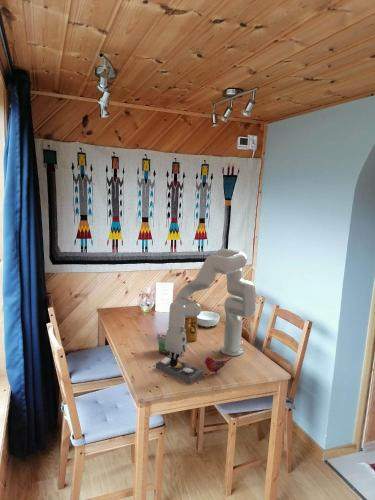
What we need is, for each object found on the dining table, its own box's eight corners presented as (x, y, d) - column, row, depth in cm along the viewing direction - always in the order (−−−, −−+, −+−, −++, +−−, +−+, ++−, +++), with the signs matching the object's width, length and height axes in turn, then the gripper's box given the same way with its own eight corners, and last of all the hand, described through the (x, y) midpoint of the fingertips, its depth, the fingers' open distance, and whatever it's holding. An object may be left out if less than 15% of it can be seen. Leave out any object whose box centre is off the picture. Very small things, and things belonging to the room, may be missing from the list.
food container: (152, 353, 201) (153, 336, 200) (157, 349, 207) (158, 332, 205) (173, 358, 197) (174, 340, 195) (177, 354, 203) (178, 336, 201)
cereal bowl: (188, 325, 247) (189, 315, 246) (202, 319, 261) (203, 309, 260) (210, 331, 238) (211, 321, 237) (223, 325, 252) (224, 315, 251)
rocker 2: (187, 369, 178) (188, 367, 178) (193, 372, 176) (193, 370, 176) (182, 370, 175) (183, 368, 175) (188, 372, 173) (188, 370, 173)
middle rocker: (176, 364, 182) (177, 362, 182) (181, 366, 180) (182, 364, 180) (171, 366, 179) (171, 364, 179) (176, 368, 177) (176, 366, 177)
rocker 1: (166, 358, 186) (166, 357, 186) (171, 360, 184) (170, 359, 184) (160, 362, 184) (160, 361, 183) (165, 365, 182) (165, 363, 181)
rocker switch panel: (168, 362, 192) (169, 355, 192) (203, 376, 179) (203, 369, 178) (155, 368, 185) (155, 361, 184) (190, 384, 171) (190, 376, 171)
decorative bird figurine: (201, 376, 179) (202, 356, 177) (229, 368, 189) (230, 349, 188) (205, 379, 177) (206, 359, 175) (232, 370, 187) (234, 351, 185)
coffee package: (185, 344, 217) (187, 307, 213) (174, 336, 227) (176, 301, 223) (199, 341, 222) (201, 305, 219) (188, 334, 232) (189, 299, 229)
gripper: (193, 331, 174) (190, 368, 176) (169, 322, 183) (167, 358, 185) (183, 334, 168) (180, 373, 170) (159, 326, 177) (156, 362, 179)
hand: (173, 365), depth 178 cm, fingers closed
